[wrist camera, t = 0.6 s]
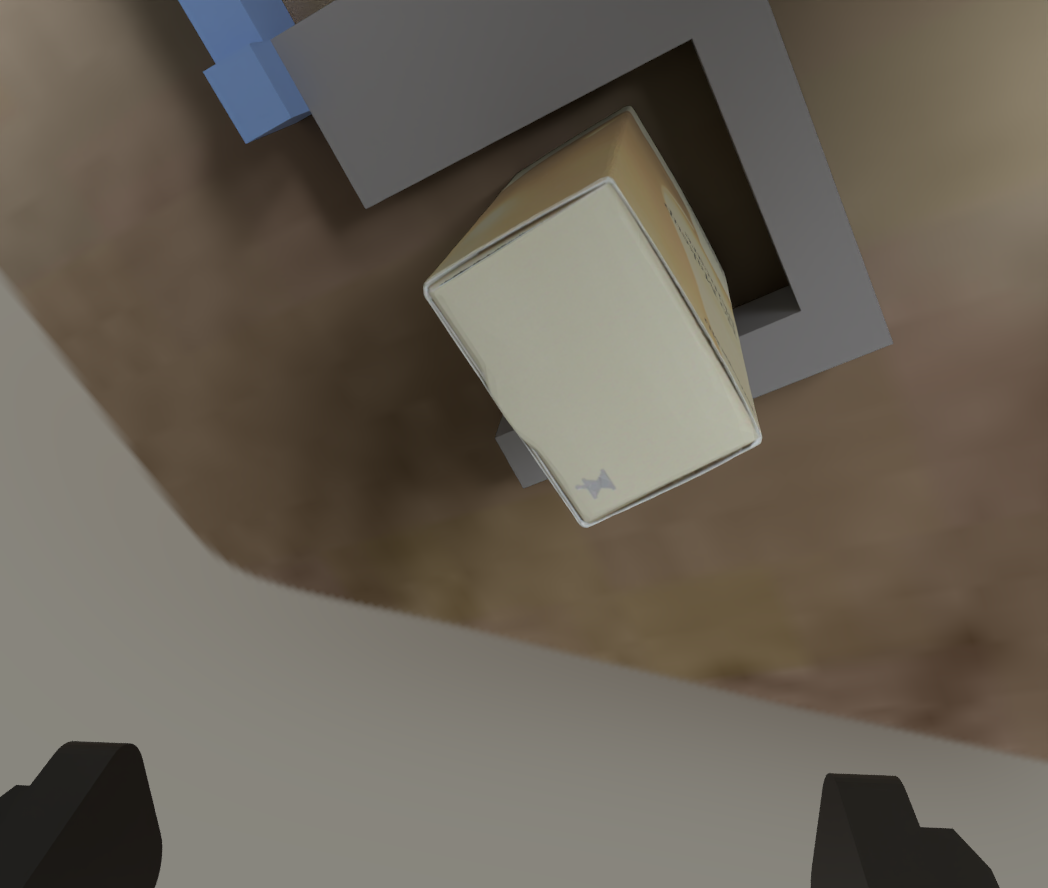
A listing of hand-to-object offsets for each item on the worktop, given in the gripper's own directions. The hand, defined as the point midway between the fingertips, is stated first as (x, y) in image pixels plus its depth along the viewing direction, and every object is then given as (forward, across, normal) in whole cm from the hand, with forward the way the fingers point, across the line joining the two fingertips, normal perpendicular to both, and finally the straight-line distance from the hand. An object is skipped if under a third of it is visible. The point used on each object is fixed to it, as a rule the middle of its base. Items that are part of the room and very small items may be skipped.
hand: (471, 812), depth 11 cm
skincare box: (+21, -2, -3) cm, 21 cm away
